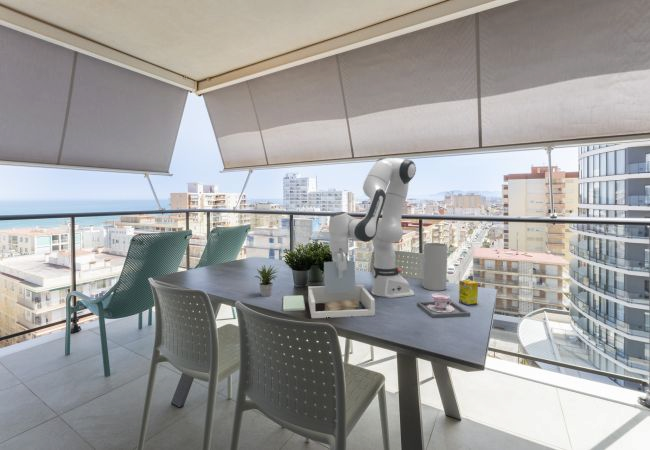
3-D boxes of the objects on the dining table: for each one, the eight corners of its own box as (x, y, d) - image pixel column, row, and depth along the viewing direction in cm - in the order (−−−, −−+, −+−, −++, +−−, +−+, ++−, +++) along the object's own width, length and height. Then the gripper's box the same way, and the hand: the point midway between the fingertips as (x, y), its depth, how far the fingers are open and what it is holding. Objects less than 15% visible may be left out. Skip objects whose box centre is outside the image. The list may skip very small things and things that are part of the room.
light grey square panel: (353, 289, 157) (353, 260, 156) (355, 291, 154) (354, 262, 153) (324, 291, 155) (323, 262, 154) (325, 293, 152) (324, 263, 151)
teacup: (422, 308, 153) (422, 295, 153) (435, 303, 161) (435, 290, 161) (446, 315, 144) (447, 301, 144) (459, 309, 152) (459, 295, 152)
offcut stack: (353, 308, 154) (353, 298, 154) (359, 312, 148) (359, 303, 148) (324, 312, 149) (323, 302, 149) (329, 317, 143) (329, 307, 143)
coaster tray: (450, 303, 160) (450, 300, 159) (470, 316, 143) (470, 312, 143) (417, 305, 158) (417, 302, 157) (432, 317, 141) (432, 314, 141)
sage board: (303, 297, 171) (303, 295, 171) (305, 310, 151) (305, 308, 151) (283, 297, 170) (283, 296, 170) (283, 311, 150) (283, 308, 150)
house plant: (274, 300, 165) (273, 268, 164) (248, 299, 168) (247, 267, 167) (283, 292, 179) (282, 262, 178) (259, 291, 182) (258, 262, 181)
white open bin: (363, 300, 166) (363, 284, 165) (374, 315, 144) (374, 297, 143) (308, 302, 163) (308, 286, 162) (311, 318, 141) (311, 300, 140)
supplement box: (458, 302, 162) (459, 280, 161) (468, 301, 164) (468, 279, 163) (467, 306, 156) (468, 283, 155) (477, 304, 158) (478, 282, 157)
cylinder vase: (448, 291, 180) (449, 246, 178) (424, 290, 182) (425, 245, 180) (443, 285, 192) (444, 243, 190) (421, 284, 194) (422, 242, 192)
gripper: (349, 250, 143) (350, 281, 144) (342, 243, 163) (342, 271, 164) (335, 251, 142) (336, 282, 143) (329, 244, 162) (330, 271, 164)
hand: (339, 276), depth 154 cm, fingers closed on light grey square panel, 3 cm apart
